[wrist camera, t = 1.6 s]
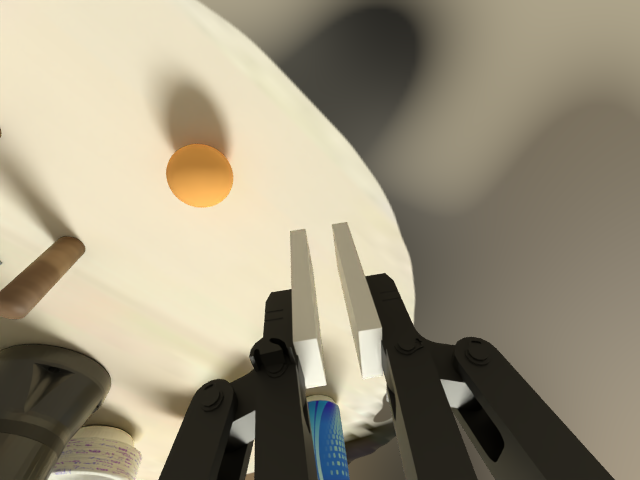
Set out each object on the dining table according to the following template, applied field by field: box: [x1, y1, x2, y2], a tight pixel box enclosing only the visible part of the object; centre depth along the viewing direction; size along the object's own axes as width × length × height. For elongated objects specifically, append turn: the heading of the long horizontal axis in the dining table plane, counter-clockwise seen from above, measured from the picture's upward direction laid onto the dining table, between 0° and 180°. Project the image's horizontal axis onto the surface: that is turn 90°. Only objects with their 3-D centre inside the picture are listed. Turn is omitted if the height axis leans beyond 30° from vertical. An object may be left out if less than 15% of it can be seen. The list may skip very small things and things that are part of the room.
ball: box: [166, 144, 233, 207], centre depth 27 cm, size 6×6×6 cm
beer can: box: [306, 395, 350, 480], centre depth 49 cm, size 8×8×16 cm
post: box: [0, 236, 85, 319], centre depth 29 cm, size 3×3×9 cm
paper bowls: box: [48, 426, 142, 480], centre depth 52 cm, size 15×15×8 cm
